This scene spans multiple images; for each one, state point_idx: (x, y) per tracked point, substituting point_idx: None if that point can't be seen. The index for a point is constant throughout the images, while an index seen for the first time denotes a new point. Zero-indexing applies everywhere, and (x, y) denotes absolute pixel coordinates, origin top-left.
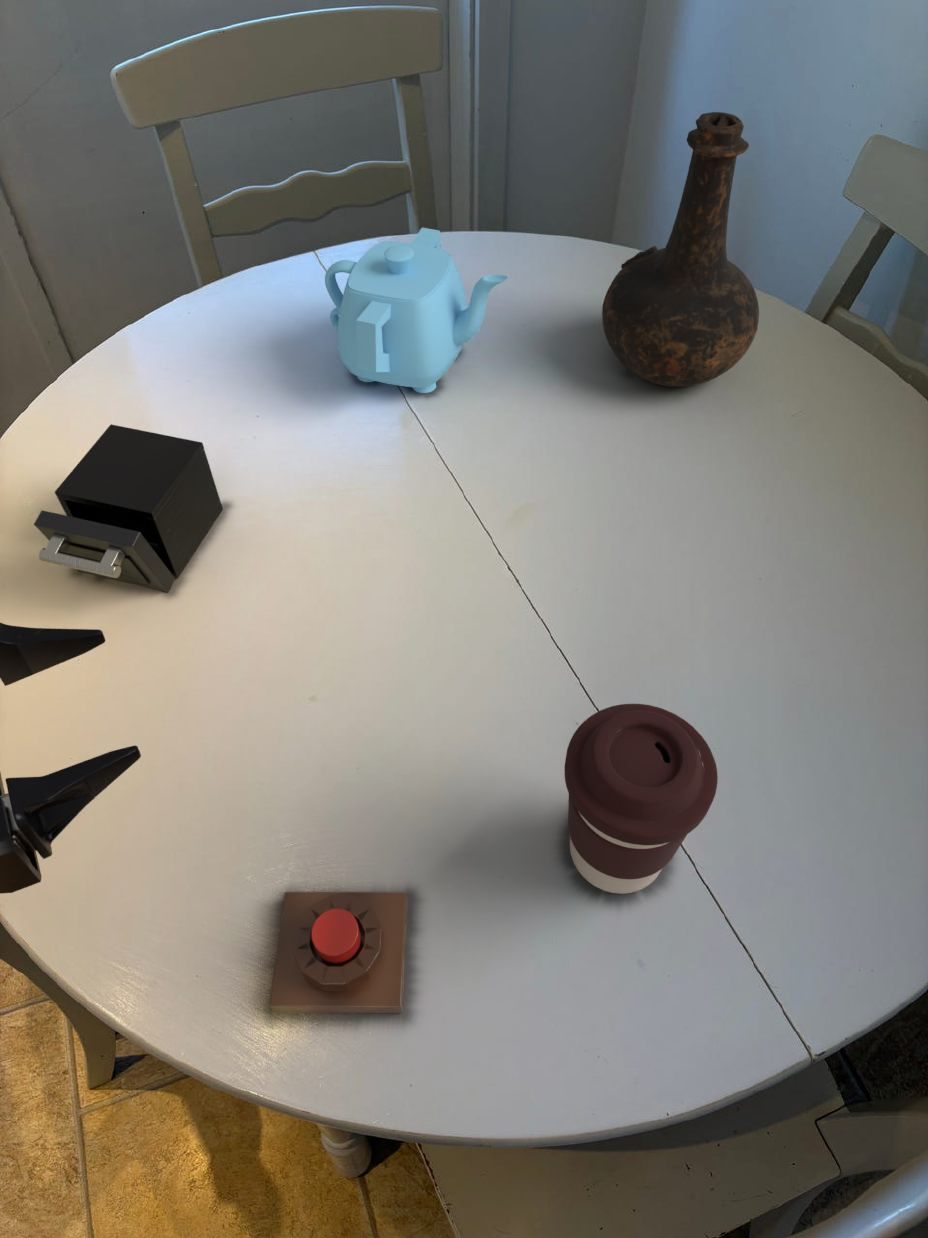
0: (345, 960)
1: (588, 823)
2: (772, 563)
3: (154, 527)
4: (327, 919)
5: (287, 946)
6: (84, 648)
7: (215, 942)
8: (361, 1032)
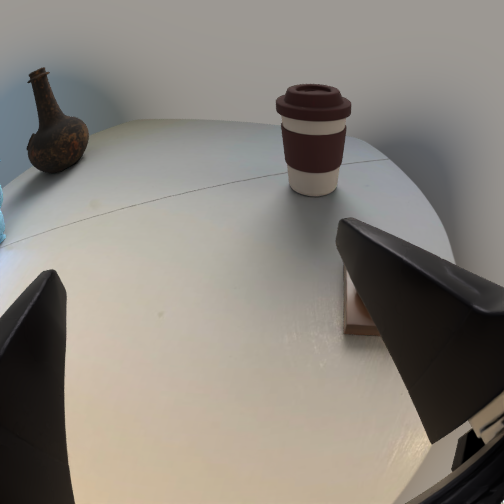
0: None
1: (334, 131)
2: (178, 140)
3: None
4: None
5: None
6: (59, 324)
7: (376, 385)
8: None
